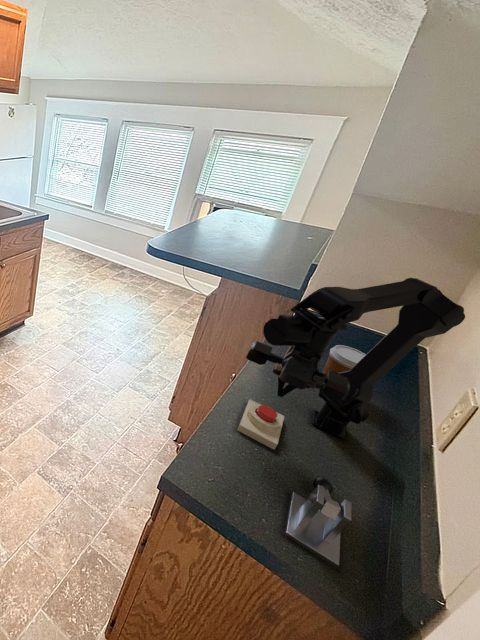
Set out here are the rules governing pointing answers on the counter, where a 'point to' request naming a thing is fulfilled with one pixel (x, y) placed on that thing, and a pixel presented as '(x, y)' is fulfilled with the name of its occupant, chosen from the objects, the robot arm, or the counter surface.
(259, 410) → the stop button
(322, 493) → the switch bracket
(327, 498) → the switch lever
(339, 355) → the disposable coffee cup
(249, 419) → the stop block
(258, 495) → the counter surface
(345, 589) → the counter surface
